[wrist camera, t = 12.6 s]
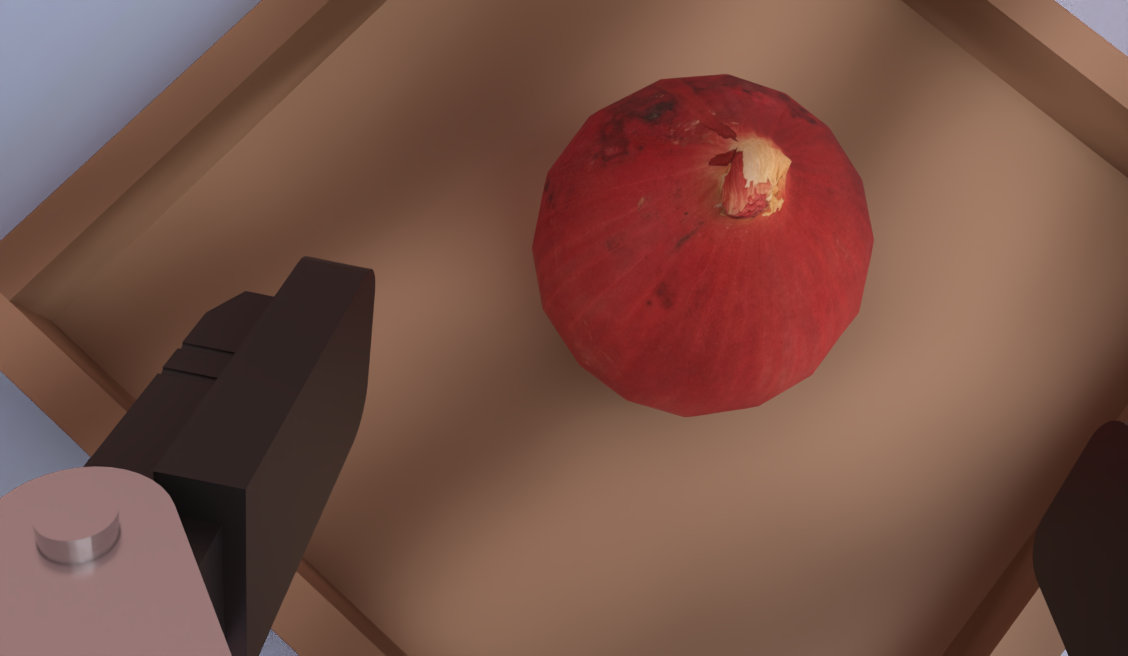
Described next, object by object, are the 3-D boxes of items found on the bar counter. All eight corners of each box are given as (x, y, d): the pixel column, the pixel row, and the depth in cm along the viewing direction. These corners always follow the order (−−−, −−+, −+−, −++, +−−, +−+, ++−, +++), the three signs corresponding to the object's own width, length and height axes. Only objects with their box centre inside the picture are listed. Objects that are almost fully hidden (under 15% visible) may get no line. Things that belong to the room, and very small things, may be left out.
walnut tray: (0, 332, 21) (-69, 304, 18) (611, -245, 24) (622, -332, 22) (721, 1016, 19) (753, 1089, 16) (1266, 267, 22) (1359, 234, 20)
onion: (481, 249, 21) (457, 71, 13) (708, 127, 22) (814, -110, 14) (620, 487, 20) (686, 450, 12) (852, 350, 21) (1056, 231, 13)
